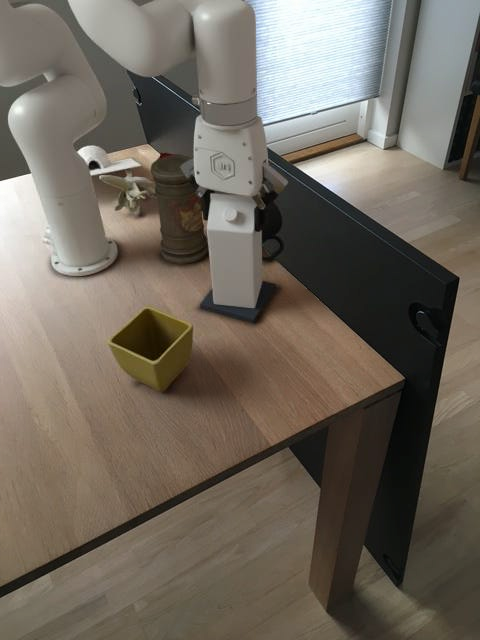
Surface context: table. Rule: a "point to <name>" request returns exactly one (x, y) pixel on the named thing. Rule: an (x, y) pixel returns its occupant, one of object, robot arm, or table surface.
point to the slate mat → (241, 312)
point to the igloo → (103, 161)
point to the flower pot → (153, 347)
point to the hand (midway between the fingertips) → (234, 221)
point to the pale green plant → (130, 190)
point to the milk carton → (234, 250)
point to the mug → (273, 230)
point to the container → (178, 212)
